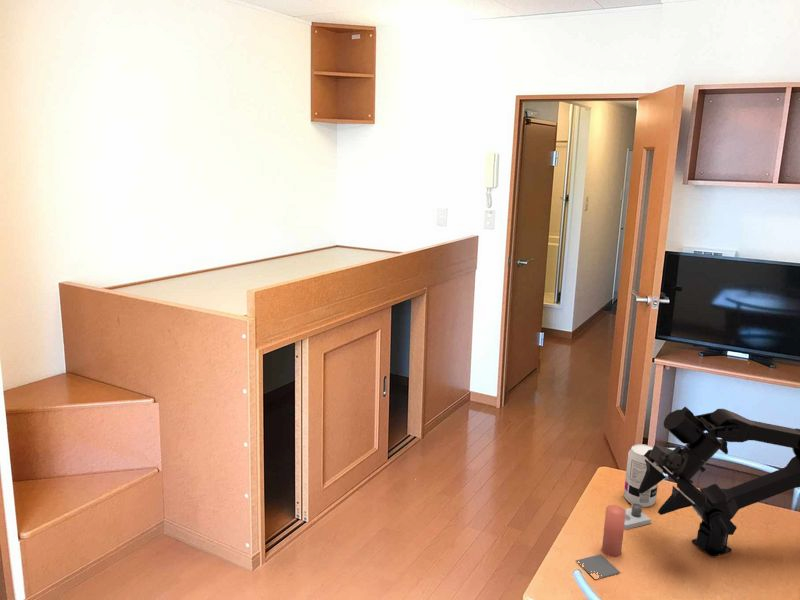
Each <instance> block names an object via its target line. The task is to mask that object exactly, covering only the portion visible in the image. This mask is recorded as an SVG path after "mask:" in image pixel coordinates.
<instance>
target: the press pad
mask: <svg viewBox="0 0 800 600" xmlns="http://www.w3.org/2000/svg"><path fill="white" fill-rule="evenodd" d="M576 561H577V562H578V561H579V562H580V563H579V564H581V566H582V564H583V563H584V564H583V565H584V567H583V568H584V569H585V570H586V571H587V572H588V573H589V574H591V573H592V574H593V573H595V574H596V573H597V572H598V575H599V578H601V577H605V578H607V577H606V576H609V577H611V575H613V576H616V575H620V574H621V571H620V570H619V569H617V567H616V566H614V564H612V563H611V562H610V561H609V560H608V559H607V558H606V557H604V555H603V554H601V553H600V554H596V555H592V556H587V557H584V558H580V559H576V560H575V562H576ZM577 562H576V563H577ZM579 564H578V565H579ZM581 566H580V567H581ZM583 568H582V569H583ZM584 569H583V570H584ZM585 570H584V571H585ZM586 571H585V572H586ZM591 571H592V572H591ZM594 571H595V572H594ZM587 572H586V573H587ZM588 573H587V574H588ZM619 573H620V574H619ZM589 574H588V575H589ZM615 574H616V575H615ZM596 575H597V574H596ZM601 575H602V576H601ZM601 579H602V578H601Z"/></svg>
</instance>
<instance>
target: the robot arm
mask: <svg viewBox="0 0 800 600" xmlns="http://www.w3.org/2000/svg"><path fill="white" fill-rule="evenodd" d="M663 427H664V429H666V430H667V431H668V432H669V433H670V434H671V435H672V436H674V437H675V438H676V439H677V440H678V441H680V442H681V443H682V444H685V445H684V446H683V447H680V445H679V446H676V447H675V448H674V449H671V448H668V447H665V446H662V445H661V444H657V443H654V445H653V446H652V447H653V449H652V450H648V451H647V452H646V453H645V455H644V456H645V457H646V458H647V459H648V460H646V459H645V462H646V467H647V470H646V473H645V476H644V478H643V481H642V483H641V485H640V487H639V490H638V492H640V493H641V494H642V493H644V492H646V491H647V490H649V489H650V488H652V487H653V486H655V485H656V484H657V483H658V484H659V483H660V482H662V481H663V480H665V479H666V478H667V477H666V475H667V476H668V477H669V478H671V480H673V482H675V483H676V487H675V486H674V485H672V489H671V491H672V492H671V495H670V496H669V497H668V498H667V499H666V501H664V503H663V504H662V505H661V506H660V508H659V509H658V511H657V514H659V516H663V515H666V514H669V513H673V512H674V511H678V510H681V509H685V508H686V509H687V508H690V507H692V508H693V510H694V511H695V512H696V514H697V516H699V517H700V519H701V522H700V523H699V527H698V530H697V535H696V538H693V539H691V543H692V544H694V545H695V546H696V547H698V548H699V549H700V550H701V551H703V552H704V553H706V555H708V556H709V557H711V558H712V557H713V558H714V557H718V556H721V555H724V554H728V553H732V551H733V550H732V548H731V547H729V546H728V540H729V539H728V538H729V536H732V535H734V534H735V532H736V530H737V526H736V525H735V524H734V522H732V519H733V518H734V517H735V516H736V514H737V512H738V511H739V510H741V509H744V508H747V507H750V506H751V505H755V504H756V503H759V502H762V501H765V500H767V499H770V498H773V497H776V496H779V495H780V494H784V493H786V492H789V491H791V490H794V489H796V488H800V428H793V427H787V426H782V425H778V424H770V423H766V422H762V421H756V420H751V419H749V418H746V417H744V416H742V415H740V414H737V413H735V412H733V411H731V410H728V409H726V408H716V409H715V410H714V411H712V412H707V413H703V414H697V415H695V414H694V413H693V412H692V411H691V410H690V408H688V407H687V406H684V407H683V408H682V409H676V410H674V411H672V412H669V414H668V415H666V417H665V418H664V420H663ZM705 431H706V432H705ZM749 441H754V442H760V443H764V444H770V445H775V446H780V447H786V448H791V449H792V453H793V454H794V456H793V457H792V458H791V459H790V460H789V462H788V463H787V464H786V465H785V466H784V467H782V468H779V469H778V470H775V471H772V472H770V473H767V474H763V475H761V476H759V477H756V478H753V479H751V480H747V481H746V482H743V483H740V484H738V485H737V484H736V485H735V486H733V487H730V488H721V487H720V486H719V485H718V484H717V483H713V484H710V485H709V486H706V487H703V488H698V487H697V486H695V485H694V484H693V483H694V481H693V480H692V479H693V478H694V476H696V475H697V473H698V472H699V471H700V472H702V473H704V472H705V471H706V470H707V469H706V468H705V465H706V463H708V462H709V460H710V459H712V458H713V456H714V455H715V454H717V453H718V451H719V450H720V451H721V452H722V453H724V454H725V455H728V454H729V449H728V443H745V442H749ZM677 488H678V489H677Z"/></svg>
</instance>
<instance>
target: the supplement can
mask: <svg viewBox="0 0 800 600" xmlns="http://www.w3.org/2000/svg"><path fill="white" fill-rule="evenodd" d="M653 447H654V446H652V445H649V444H643V443H638V444H633V445H632V446H631V448H630V449H629V451H628V454H627V461H626V462H627V463H626V471H625V478H624V479H625V481H624V489H623V497H624V498H625V500H626V501H627V502H628V503H630V504H631V505H632V504H640V505H641V506H642V508H648V507H651V506H652V505H654V504H655V503H656V501H657V494H658V487H659V483H657V484H656V485H655V486H653V487H652V488H650V489H649V490H647V491H646V492H644V493H642V494H641V493H640V492H638V490H639V487H640V485H641V483H642V481H643V478H644V476H645V473H646V470H647V467H646V462H645V459H646V460H648V459H647V458H646V457H645V456H644V455H645V453H646V452H647V451H648V450H652V449H653Z"/></svg>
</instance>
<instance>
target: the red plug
mask: <svg viewBox="0 0 800 600" xmlns="http://www.w3.org/2000/svg"><path fill="white" fill-rule="evenodd" d="M625 509H626V508H624V507H622V506H620V505H617V504H610V505H607V506H606V507H605V517H604V525H603V526H604V528H603V537H602V545H601V551H602V552H603V554H605V555H607V556H608V555H609V556H608V557H612V556H613V557H614V558H615V557H616V558H617V557H620V556H621V555H622V549H623V540H624V539H623V538H624V530H625V529H624V523H625V514H626V511H625Z"/></svg>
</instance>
